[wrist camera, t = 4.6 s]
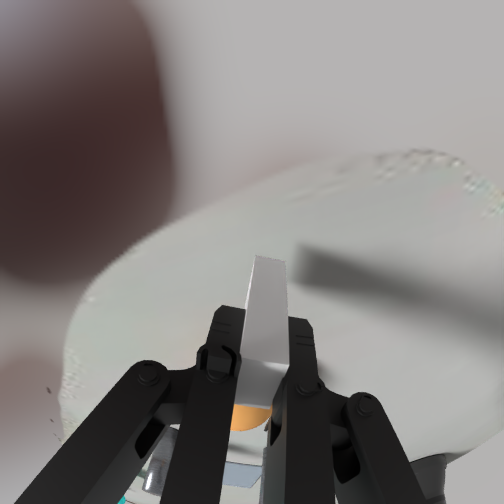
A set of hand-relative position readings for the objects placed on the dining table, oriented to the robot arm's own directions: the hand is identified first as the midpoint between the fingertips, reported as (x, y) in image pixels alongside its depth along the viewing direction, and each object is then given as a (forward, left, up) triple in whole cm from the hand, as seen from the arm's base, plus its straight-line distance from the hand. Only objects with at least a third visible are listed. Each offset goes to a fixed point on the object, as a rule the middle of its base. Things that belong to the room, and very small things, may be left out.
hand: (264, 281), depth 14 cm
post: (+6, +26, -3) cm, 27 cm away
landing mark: (0, +40, -3) cm, 40 cm away
